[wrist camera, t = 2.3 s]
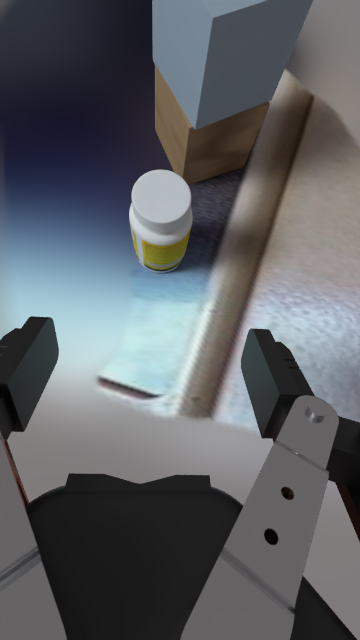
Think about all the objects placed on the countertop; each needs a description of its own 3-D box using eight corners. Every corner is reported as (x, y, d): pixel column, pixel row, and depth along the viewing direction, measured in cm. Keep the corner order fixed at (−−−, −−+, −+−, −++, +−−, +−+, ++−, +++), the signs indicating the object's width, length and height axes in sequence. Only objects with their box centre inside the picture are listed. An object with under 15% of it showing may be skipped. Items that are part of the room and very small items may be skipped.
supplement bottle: (195, 252, 27) (212, 200, 19) (158, 284, 27) (159, 243, 18) (161, 217, 28) (164, 151, 20) (124, 247, 27) (110, 191, 19)
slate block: (228, 34, 24) (257, -103, 17) (271, 100, 23) (320, -18, 16) (153, 60, 23) (151, -76, 16) (195, 130, 22) (212, 17, 15)
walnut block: (216, 112, 31) (233, 36, 24) (243, 167, 30) (269, 104, 23) (155, 129, 30) (155, 56, 23) (181, 187, 29) (189, 128, 22)
